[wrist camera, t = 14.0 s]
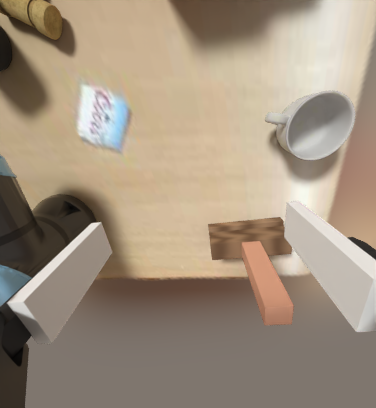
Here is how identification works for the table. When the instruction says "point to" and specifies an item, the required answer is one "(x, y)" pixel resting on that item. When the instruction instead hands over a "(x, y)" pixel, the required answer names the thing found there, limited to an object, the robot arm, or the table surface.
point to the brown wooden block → (247, 237)
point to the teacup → (314, 124)
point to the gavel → (35, 15)
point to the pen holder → (4, 51)
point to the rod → (267, 285)
